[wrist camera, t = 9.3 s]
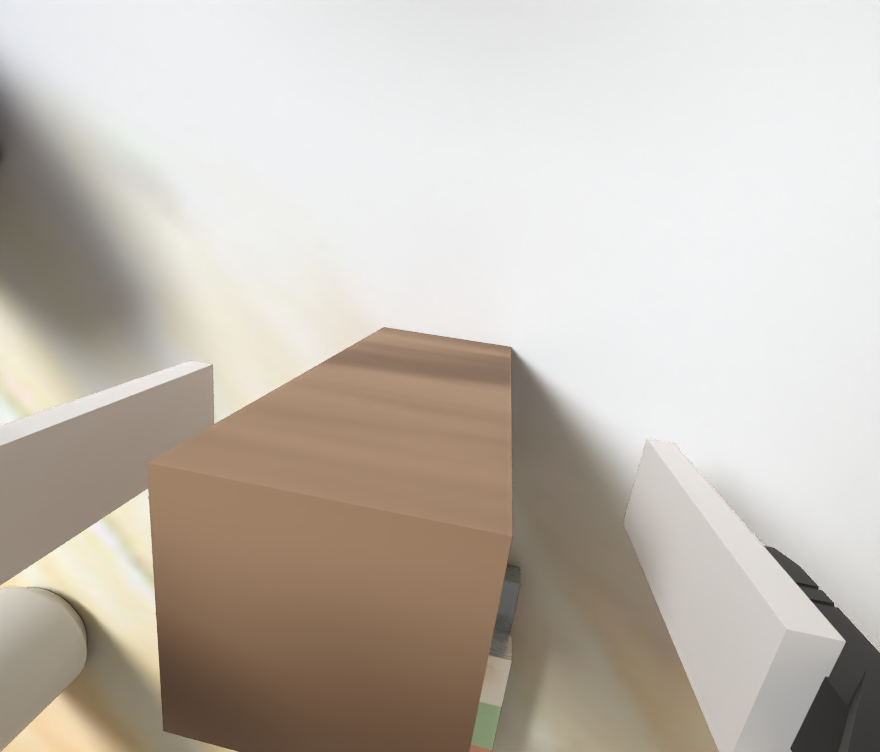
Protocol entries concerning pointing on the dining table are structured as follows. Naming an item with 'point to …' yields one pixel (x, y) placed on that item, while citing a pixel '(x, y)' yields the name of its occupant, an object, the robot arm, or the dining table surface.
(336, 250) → the dining table surface
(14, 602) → the beverage can
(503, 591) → the gauge housing
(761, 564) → the robot arm
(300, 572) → the walnut block
